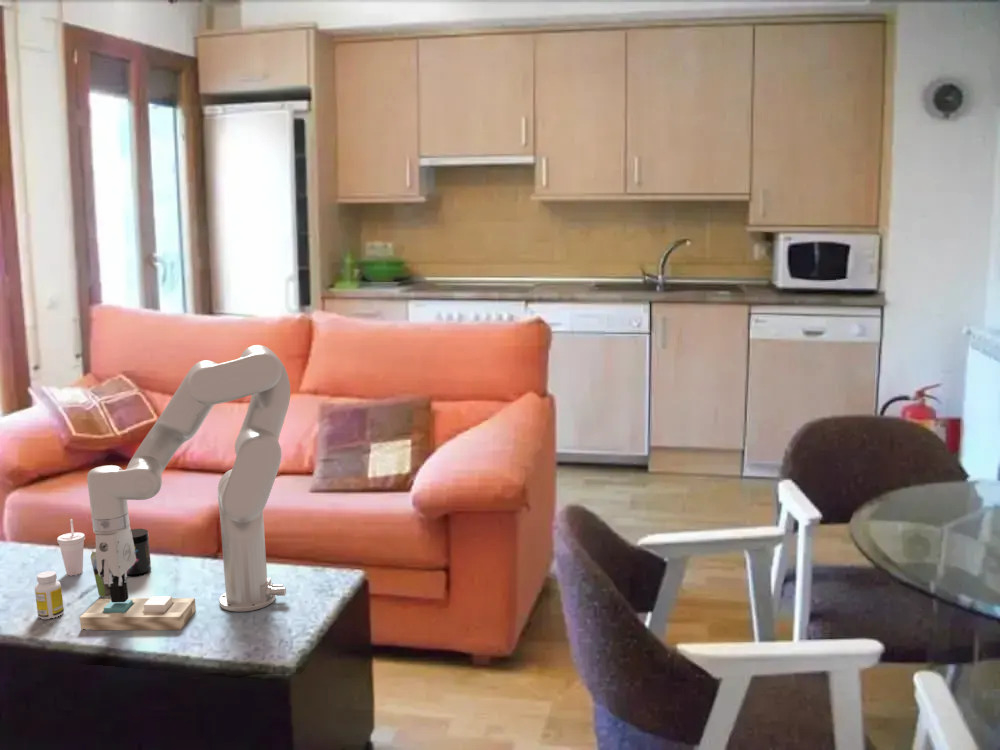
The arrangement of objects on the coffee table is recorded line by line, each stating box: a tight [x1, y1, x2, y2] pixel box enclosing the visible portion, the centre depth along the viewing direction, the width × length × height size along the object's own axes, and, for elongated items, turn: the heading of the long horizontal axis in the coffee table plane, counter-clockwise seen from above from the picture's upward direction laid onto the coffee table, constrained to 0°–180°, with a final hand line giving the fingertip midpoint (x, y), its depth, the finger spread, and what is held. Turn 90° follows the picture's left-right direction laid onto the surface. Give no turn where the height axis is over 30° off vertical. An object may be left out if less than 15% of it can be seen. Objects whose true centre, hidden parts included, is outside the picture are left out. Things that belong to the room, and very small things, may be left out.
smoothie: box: [56, 518, 86, 577], centre depth 248 cm, size 6×6×14 cm
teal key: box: [104, 599, 133, 613], centre depth 221 cm, size 5×5×3 cm
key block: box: [79, 597, 197, 631], centre depth 221 cm, size 22×10×3 cm, turn 88°
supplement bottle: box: [34, 570, 65, 620], centre depth 224 cm, size 5×5×10 cm
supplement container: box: [127, 528, 152, 578], centre depth 248 cm, size 7×7×10 cm
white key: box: [144, 595, 173, 613], centre depth 220 cm, size 5×5×3 cm
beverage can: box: [90, 547, 111, 599], centre depth 234 cm, size 6×7×12 cm
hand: (120, 600), depth 221 cm, fingers closed
